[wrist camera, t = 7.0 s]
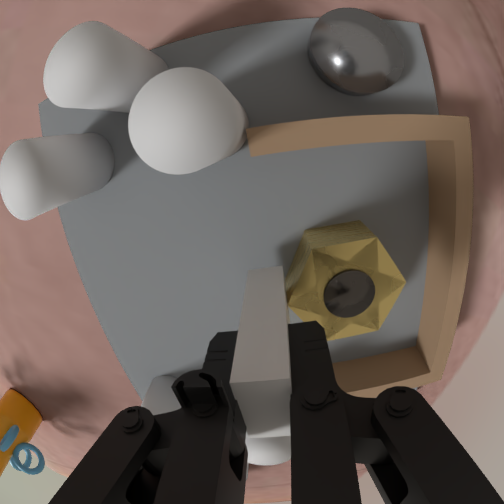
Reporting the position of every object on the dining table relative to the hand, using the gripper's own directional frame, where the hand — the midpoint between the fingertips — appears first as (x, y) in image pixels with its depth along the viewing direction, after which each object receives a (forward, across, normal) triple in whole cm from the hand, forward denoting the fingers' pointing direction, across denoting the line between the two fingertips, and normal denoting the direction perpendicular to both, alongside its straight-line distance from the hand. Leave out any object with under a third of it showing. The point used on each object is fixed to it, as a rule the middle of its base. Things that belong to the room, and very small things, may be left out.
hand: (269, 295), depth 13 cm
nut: (+1, +3, 0) cm, 4 cm away
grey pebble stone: (+1, +5, +10) cm, 11 cm away
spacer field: (+2, -1, 0) cm, 2 cm away
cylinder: (+2, -33, -15) cm, 36 cm away
